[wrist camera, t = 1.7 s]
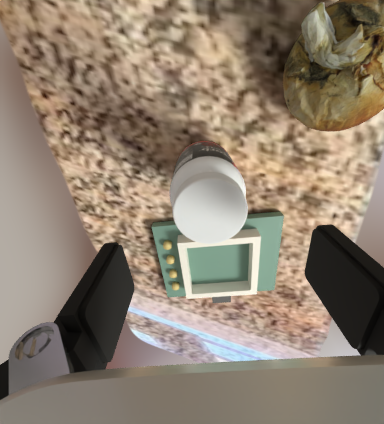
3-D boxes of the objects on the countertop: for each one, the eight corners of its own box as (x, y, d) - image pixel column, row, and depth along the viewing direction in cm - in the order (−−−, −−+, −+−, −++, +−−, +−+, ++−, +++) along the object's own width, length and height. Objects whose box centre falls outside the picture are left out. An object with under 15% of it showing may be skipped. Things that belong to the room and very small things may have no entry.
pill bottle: (242, 161, 21) (277, 205, 12) (209, 202, 23) (219, 263, 15) (196, 127, 19) (200, 149, 11) (165, 174, 22) (147, 224, 13)
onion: (272, 136, 20) (316, 156, 13) (264, 33, 16) (319, -17, 9) (356, 113, 19) (453, 121, 12) (367, -2, 15) (517, -88, 8)
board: (152, 222, 25) (148, 235, 22) (280, 211, 24) (289, 223, 22) (168, 291, 30) (166, 307, 28) (271, 284, 30) (278, 299, 27)
